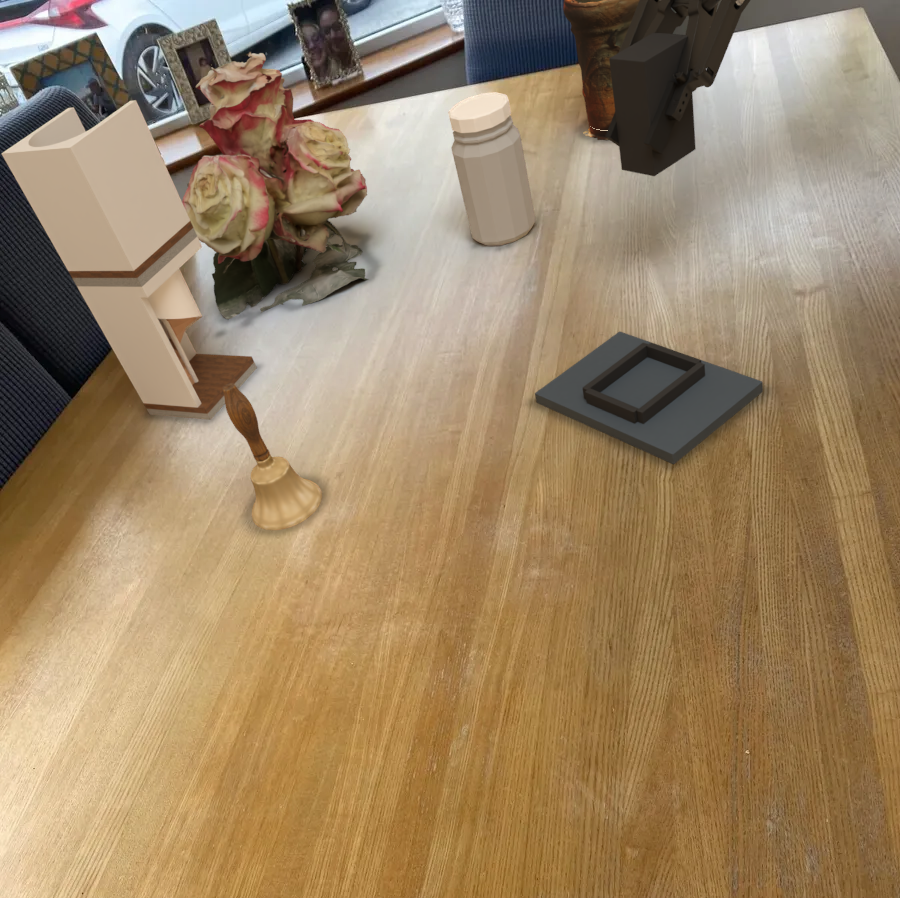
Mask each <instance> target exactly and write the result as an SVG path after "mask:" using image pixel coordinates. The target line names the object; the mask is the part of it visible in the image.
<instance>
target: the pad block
mask: <svg viewBox="0 0 900 898" xmlns="http://www.w3.org/2000/svg"><path fill="white" fill-rule="evenodd" d="M687 37H688V36H687V35H686V34H680V33H679V34H677V33H673V34H666V33H652V34H650V35H649V36H647V37H645V38H643V39H642V40H640V41H638V42H637V43H635V44H633V45H631V46H630V47H628V48H626V49H625V50H623V51H621V52H619V53H618V54H616V55H614V56H613V57H611V58H609V61H610V69H611V78H612V87H613V96H614V105H615V114H616V122H617V131H618V140H619V146H618V149H619V157H620V165H621V170H622V171H624V172H629V173H636V174H640V175H645V176H649V177H650V176H651V177H656V176H657V175H659V174H660V173H662V172H663V171H666V170H667V169H668V168H670V167H671V166H673V165H674V164H676V163H678V162H679V161H680V160H682V159H683V158H685V157H686V156H688V155H689V154H691V153H692V152H694V151H695V150H696V149H697V148H696V136H695V135H696V132H695V116H694V115H695V113H694V98H693V97H694V96H693V93H692V94H691V97H690V99H689V101H688V104H687V106H686V109H685V111H684V114H683V116H682V118H681V119H680V120H679V121H676V122H675V124H674V126H673V129H672V131H671V134H670V136H669V139H668V141H667V144H666V146H665V148H664V151H663V153H662V154H658V153H656V152H654V151H653V150H652V149H650V148H649V147H648V146H646V145H645V144H644V141H645V138H646V136H647V133H648V131H649V128H650V126H651V124H652V121H653V119H654V116H655V114H656V111H657V109H658V106H659V104H660V101H661V99H662V96H663V94H664V91H665V89H666V86H667V84H668V81H673V82H675V83H676V84H677V83H678V81H677V80H676V79H674V78H673V74H675V73H678V68H679V64H680V59H681V54H682V49H683V47H684V44H685V42H686V39H687Z"/></svg>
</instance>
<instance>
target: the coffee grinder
mask: <svg viewBox="0 0 900 898" xmlns="http://www.w3.org/2000/svg"><path fill="white" fill-rule="evenodd" d="M1 155H2V157H3V159H4V161H5V163H6V165H7V166H8V167H9V170H10V172H11V173H12V175H13V176H14V178H15V180H16V182H17V183H18V186H19V187H20V190H21V191H22V192H23V194H24V196H25V198H26V200H27V201H28V203H29V205H30V207H31V208H32V210H33V212H34V213H35V216H36V217H37V219H38V220H39V223H40V224H41V226H42V228H43V229H44V231H45V233H46V234H47V236H48V238H49V240H50V242H51V243H52V245H53V247H54V249H55V250H56V253H57V254H58V256H59V257H60V260H61V261H62V263H63V264H64V266H65V268H66V270H67V271H68V273H69V275H70V277H71V279H72V281H73V282H74V284H75V285H76V288H77V289H78V291H79V293H80V294H81V296H82V298H83V300H84V302H85V303H86V305H87V307H88V309H89V310H90V312H91V314H92V316H93V317H94V319H95V321H96V322H97V324H98V326H99V328H100V329H101V331H102V333H103V335H104V337H105V339H106V340H107V342H108V344H109V346H110V348H111V349H112V350H113V352H114V354H115V356H116V358H117V360H118V361H119V363H120V365H121V366H122V368H123V370H124V372H125V374H126V375H127V377H128V379H129V381H130V382H131V384H132V386H133V387H134V389H135V391H136V394H137V395H138V396H139V398H140V400H141V402H142V404H143V405H144V407H145V409H146V411H147V413H148V414H149V415H151V416H160V417H161V416H162V417H174V418H185V419H194V420H195V419H197V420H207V421H212V419H213V418H214V417H215V416H216V415H217V414H218V412H219V411H220V410H221V409H222V408H223V407H224V406H225V397H224V392H223V387H224V386H225V385H227V384H229V383H233V384H234V385H235V386H236V387H237V388H238V389H239V390H240V388H241V387H242V385H243V384H245V382H246V381H247V380H248V379H249V378H250V377H251V376H252V374H253V373H254V372H255V371H256V370H257V369H258V367H257V365H256V363H255V361H254V358H253V356H251V355H232V354H231V355H228V354H212V353H211V354H208V353H197V352H196V349H195V348H194V345H193V344H192V342H191V340H190V338H189V336H188V334H187V332H186V331H187V330H188V329H189V328H190V327H192V326H193V325H194V324H195V323H197V322H198V321H199V320H200V319H201V318H203V315H202V313H201V310H200V309H199V306H198V304H197V302H196V300H195V297H194V296H193V294H192V291H191V290H190V288H189V286H188V284H187V281H186V279H185V277H184V274H183V273H182V271H181V267H182V266H184V265H185V264H186V262H188V261H189V260H190V259H191V258H192V257H194V255H195V254H196V253H198V252H199V251H200V250H201V249H202V248H203V246H202V242H201V241H200V240H199V239H198V236H197V234H196V232H195V230H194V228H193V225H192V223H191V221H190V219H189V217H188V214H187V212H186V210H185V208H184V205H183V203H182V199H181V197H180V194H179V192H178V190H177V188H176V186H175V184H174V181H173V179H172V177H171V175H170V172H169V171H168V170H169V169H168V168H167V165H166V164H165V162H164V159H163V157H162V155H161V152H160V151H159V148H158V146H157V144H156V141H155V139H154V137H153V134H152V132H151V130H150V129H149V126H148V124H147V122H146V119H145V117H144V114H143V113H142V111H141V108H140V106H139V104H138V101H137V100H136V99H135V100H129V101H128V102H127V103H125V104H124V105H123V106H120V107H119V108H118V109H117V110H116V111H114V112H112V113H111V114H110V115H108V116H107V117H105V118H104V119H102V121H100V122H98V123H97V124H96V125H94V126H93V127H91V128H90V129H87V130H86V129H85V127H84V125H83V123H82V121H81V119H80V117H79V115H78V114H77V111H76V109H75V107H74V106H73V107H67V108H65V110H63V111H62V112H60V113H58V114H57V115H56V116H54V117H52V119H50V120H48V121H47V122H46V123H44V124H43V125H41V126H40V127H38V128H37V129H35V130H34V131H32V132H31V133H30V134H27V136H25V137H24V138H22V139H21V140H19V141H18V142H16V143H15V144H13V145H11V146H10V147H9V148H7V149H6V150H4V151H3V152H2V153H1Z"/></svg>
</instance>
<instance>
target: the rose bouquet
mask: <svg viewBox="0 0 900 898" xmlns="http://www.w3.org/2000/svg"><path fill="white" fill-rule="evenodd" d="M246 56H248V57H249V58H248V59H247V60H246V62H244V61H241V62H240V61H235V60H233V61H230V62H228V63H224V64H222V65H220V66H217V68H214V67H211V70H209V71H208V72H207V75H205V76H203V77H202V78H200V80H199V82H198V83H197V84H196V85H195V88H196V89H197V90H200V91H201V93H202V94H203V95H204V97H205V98H206V99H207V100H208V101H209V102H210V104H209V108H208V110H209V114H210V118H208V119H207V120H205V121H204V122H202V123H200V124H199V125H198V127H199V128H201V129H203V130H204V131H205V132H206V133H207V134H208V136H209V137H210V138H211V140H212V141H213V142H214V144H215V145H216V147H217V148H218V149H219V151H220V152H221V154H216V155H203V156H201V158H200V159H199V160H198V161H197V163H196V165H194V167H193V169H192V172H191V174H190V177H189V182H188V183H186V184H187V188H186V190H185V192H184V195H183V197H182V199H181V201H182V203H183V205H184V208H185V210H186V212H187V214H188V217H189V219H190V221H191V223H192V225H193V228H194V230H195V232H196V234H197V236H198V239H199V241H200V243H203V244H205V245H206V247H208V248H210V249H211V250H213V251H214V252H215V253H214V254H213V257H212V259H213V262H212V263H213V267H214V271H213V272H212V273H211V276H212V279H213V295H214V298H215V304H216V307H217V308H218V310H219V312H220V314H221V315H222V317H224V319H226V320H231V319H233V318H235V317H236V316H238V315H240V314H241V313H242V312H243V311H245V310H246V309H247V307H248V306H250V308H254V307H256V306H257V305H258V304H259V303H260V302H262V300H263V298H265V297H266V296H267V295H269V294H270V293H271V292H272V291H274V288H276V286H277V285H279V286H281V285H286V284H288V283H289V282H290V281H291V280H292V279H293V276H294V274H295V273H298V272H301V271H302V270H303V268H304V267H306V266H307V263H305V262H304V261H303V259H304V256H305V254H306V253H307V252H308V251H307V249H310V250H313V251H315V252H319V253H318V254H317V255H316V256H315V257H314V258H313V260H312V261H311V262H312V264H313V265H314V268H313V270H312V272H311V273H310V276H309V278H307V279H306V280H304V281H303V282H301V283H300V284H298V285H296V286H294V287H292V288H291V287H290V288H289V289H286V290H284V291H281V292H280V293H278V294H277V295H276V296H275V297H274V302H273V303H272V304H270V305H266V306H262V307H260V308H259V310H260V311H261V312H260V314H262V313H263V312H265V311H268V310H270V309H272V308H274V307H276V306H278V305H282V306H285V304H284V303H286V302H288V301H291V300H302V303H301V306H302V307H303V306H307V305H310V304H313V303H316V302H319V301H321V300H323V299H325V298H326V297H328V296H329V295H331V294H333V292H336V291H338V290H339V289H341V288H342V287H344V286H347V285H348V284H350V283H351V282H354V281H356V280H359V279H362V280H365V281H366V280H367V281H368V278H366V269H365V268H361V267H360V268H355V267H356V266H357V261H350V260H352V259H355V258H357V257H359V256H361V255H362V254H363V249H361V248H360V247H359V245H357V244H350V243H348V242H347V241H346V240H345V238H344V236H343V235H342V234H341V233H340V231H339V230H338V228H337V226H335V225H334V224H333V222H331V221H329V220H330V219H337V218H340V217H345V216H346V217H347V216H350V215H352V214H354V213H357V209H358V208H359V207H360V206H361V204H362V203H363V201H364V200H365V198H366V197H367V196H368V186H367V184H366V183H367V182H366V178H365V176H364V175H363V173H362V172H361V170H360V169H355V170H354V169H353V168H351V161H352V158H351V156H350V155H349V154H350V151H351V148H349V143H348V139H347V137H346V136H345V134H344V132H343V131H341V130H340V129H339V128H334V127H329V126H326V124H324V123H323V122H320V121H314V120H313V119H310V118H309V119H305V118H304V119H295V117H294V114H293V111H294V96H293V92H292V89H291V88H285V87H284V83H285V81H286V80H285V77H283V73H282V72H281V70H279V69H276V68H263V67H264V64H265V62H266V60H267V58H266V55H265V54H264V53H263V52H259V53H254V52H253V53H252V51H249V52H248V53H246ZM210 65H211V66H212V64H210ZM334 234H335V235H336V236H337V237H339V238H340V239H341V240H342V242H341V244H339V243H331V242H330V239H331V238H333V237H334ZM334 269H335V270H334Z"/></svg>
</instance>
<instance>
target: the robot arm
mask: <svg viewBox="0 0 900 898" xmlns="http://www.w3.org/2000/svg"><path fill="white" fill-rule="evenodd" d="M750 2H751V0H640V1H639V3H638V6H637V8H636V11H635V13H634V16H633V18H632V21H631V23H630V26H629V28H628V31H627V33H626V36H625V38H624V41H623V43H622V46H621V48H620V51H619V52H621V51H623V50H625V49H626V48H628V47H630V46H631V45H633V44H635V43H637V42H638V41H640V40H642V39H643V38H645V37H647V36H649V35H650V34H652V33H666V34H674V32H675V30H676V29H677V28H678V27H681V26H682V25H683V23H684V22H685V20H686V19H687V17H688V20H687V26H686V29H685V30H686V31H685V35H687V36H688V37H687V39H686V42H685V44H684V47H683V49H682V54H681V59H680V64H679V68H678V73H675V74H673V78H674V79H676V80H677V81H678V83H677V84H676V83H675V82H673V81H668V84H667V86H666V89H665V91H664V94H663V96H662V99H661V101H660V104H659V106H658V109H657V111H656V114H655V116H654V119H653V121H652V124H651V126H650V128H649V131H648V133H647V136H646V138H645V141H644V144H645V145H646V146H648V147H649V148H650V149H652V150H653V151H654V152H656V153H658V154H662V153H663V151H664V148H665V146H666V144H667V141H668V139H669V136H670V134H671V131H672V129H673V126H674V124H675V122H676V121H679V120H680V119H681V118H682V116H683V114H684V111H685V109H686V106H687V104H688V101H689V99H690V97H691V94H692V95H693V93H694V92H696V90H697V89H698V88H702V87H704V88H710V87H712V85H713V84H714V82H715V80H716V77H717V75H718V72H719V70H720V67H721V65H722V64H723V63H722V62H723V60H724V57H725V55H726V52H727V50H728V48H729V45H730V43H731V41H732V38H733V35H734V33H735V31H736V28H737V26H738V23H739V21H740V18H741V15H742V13H743V12H744V10H745V9H746V8H747V6H748V5H749V3H750ZM614 107H615V106H614ZM605 137H606V138H608V139H609V140H608V141H611V142H612V143H613V144H615V145H616V146H617V147H619V140H618V131H617V122H616V114H615V113H614V116H613V118H612V121H611V123H610V126H609V128H608V131H607V133H606V136H605Z"/></svg>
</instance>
